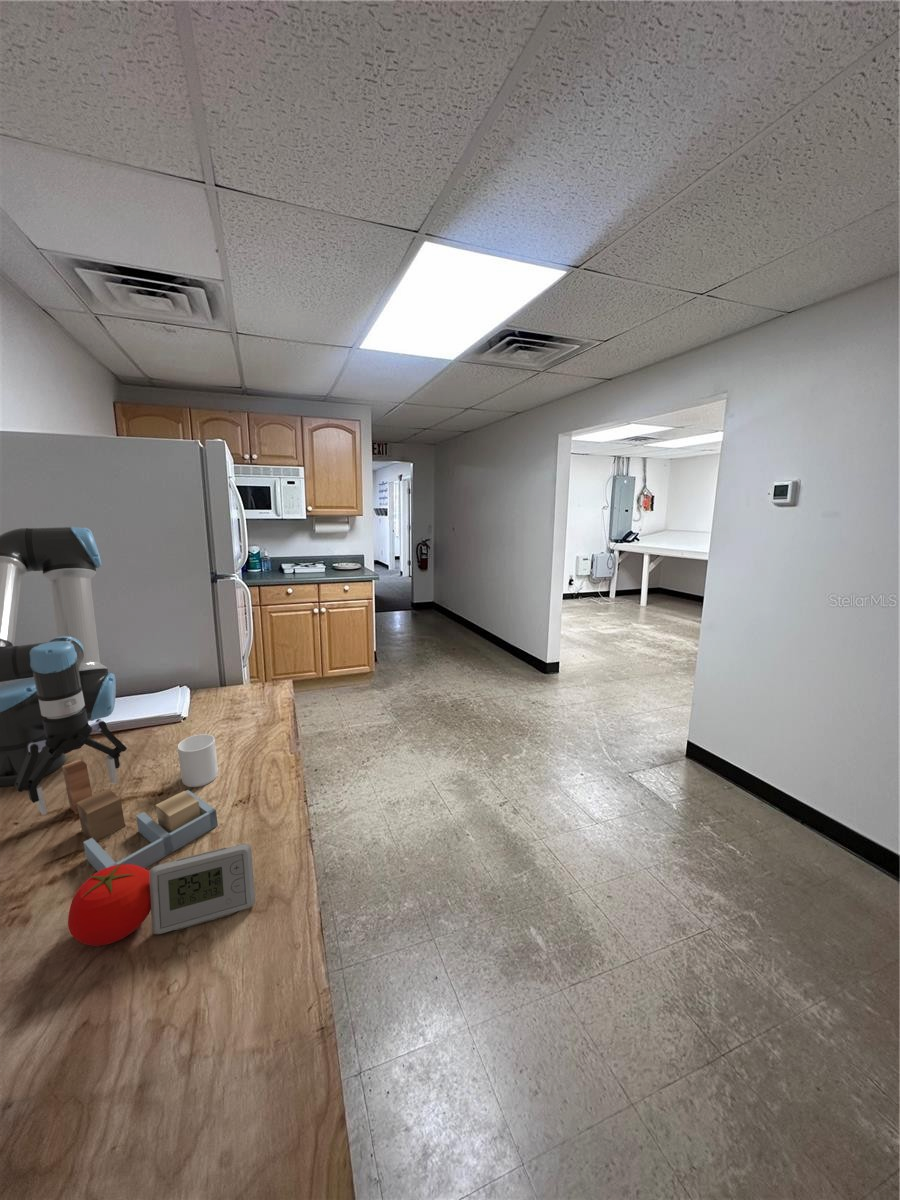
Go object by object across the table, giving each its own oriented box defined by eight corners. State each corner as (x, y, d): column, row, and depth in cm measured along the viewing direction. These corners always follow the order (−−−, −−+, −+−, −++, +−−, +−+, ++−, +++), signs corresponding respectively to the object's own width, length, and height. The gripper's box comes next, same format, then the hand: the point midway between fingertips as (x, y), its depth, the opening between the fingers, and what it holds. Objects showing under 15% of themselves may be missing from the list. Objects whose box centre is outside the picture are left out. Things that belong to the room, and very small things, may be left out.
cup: (182, 791, 115) (177, 754, 113) (181, 766, 125) (177, 732, 123) (219, 782, 119) (215, 746, 117) (216, 758, 129) (212, 725, 127)
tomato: (84, 912, 83) (74, 862, 80) (164, 890, 87) (157, 842, 85) (62, 971, 73) (50, 916, 70) (154, 943, 77) (145, 890, 75)
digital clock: (147, 940, 78) (138, 887, 75) (168, 895, 86) (160, 846, 84) (250, 925, 81) (245, 873, 78) (261, 882, 89) (256, 835, 87)
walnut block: (63, 811, 108) (55, 768, 105) (94, 797, 113) (86, 756, 110) (93, 842, 99) (84, 796, 96) (125, 826, 103) (117, 782, 101)
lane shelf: (86, 858, 94) (83, 842, 93) (189, 804, 111) (187, 789, 110) (111, 887, 88) (108, 869, 87) (217, 825, 104) (216, 809, 103)
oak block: (159, 833, 102) (155, 804, 100) (187, 817, 106) (184, 790, 105) (173, 845, 98) (169, 816, 97) (201, 828, 103) (198, 800, 102)
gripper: (-8, 741, 91) (14, 834, 96) (134, 696, 111) (146, 775, 116) (-18, 729, 96) (3, 819, 100) (120, 688, 115) (132, 765, 120)
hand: (80, 796), depth 108 cm, fingers open, 13 cm apart
